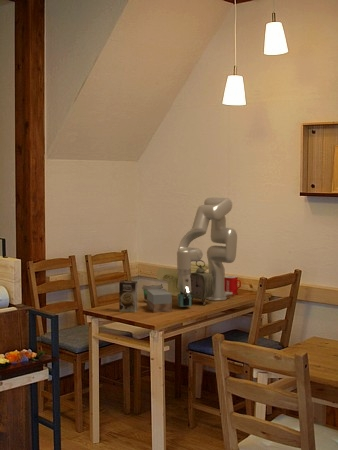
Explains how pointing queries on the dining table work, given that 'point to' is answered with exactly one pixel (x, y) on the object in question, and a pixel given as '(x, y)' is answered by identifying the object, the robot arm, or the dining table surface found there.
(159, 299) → the white box
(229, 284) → the mug
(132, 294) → the coffee box
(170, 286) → the slatted curved stool
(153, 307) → the base block
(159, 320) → the dining table surface
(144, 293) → the food container
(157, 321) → the dining table surface
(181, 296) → the teal cube
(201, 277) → the tabletop clock
